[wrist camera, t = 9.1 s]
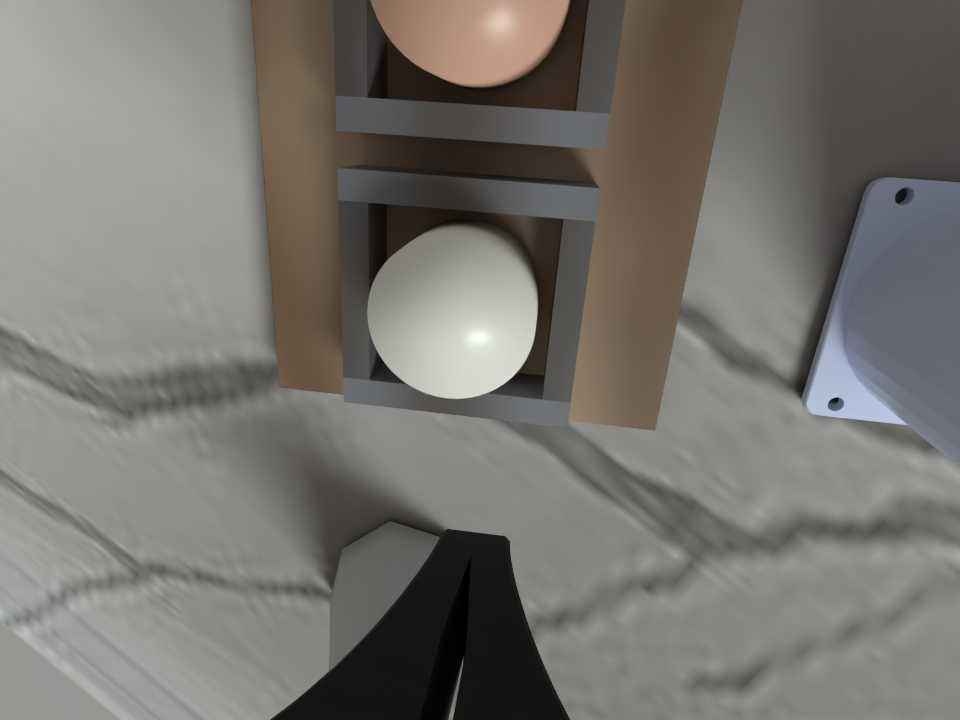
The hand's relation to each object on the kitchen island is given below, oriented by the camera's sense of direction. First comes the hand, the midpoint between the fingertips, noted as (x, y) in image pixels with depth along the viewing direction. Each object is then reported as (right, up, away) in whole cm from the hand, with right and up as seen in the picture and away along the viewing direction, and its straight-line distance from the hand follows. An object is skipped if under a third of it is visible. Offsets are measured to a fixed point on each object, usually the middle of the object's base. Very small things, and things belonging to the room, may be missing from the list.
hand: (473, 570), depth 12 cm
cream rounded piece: (0, +7, +7) cm, 10 cm away
